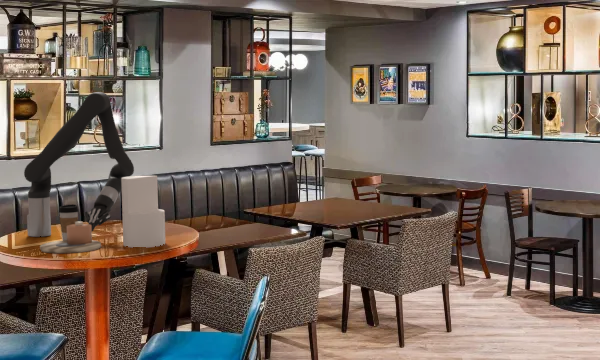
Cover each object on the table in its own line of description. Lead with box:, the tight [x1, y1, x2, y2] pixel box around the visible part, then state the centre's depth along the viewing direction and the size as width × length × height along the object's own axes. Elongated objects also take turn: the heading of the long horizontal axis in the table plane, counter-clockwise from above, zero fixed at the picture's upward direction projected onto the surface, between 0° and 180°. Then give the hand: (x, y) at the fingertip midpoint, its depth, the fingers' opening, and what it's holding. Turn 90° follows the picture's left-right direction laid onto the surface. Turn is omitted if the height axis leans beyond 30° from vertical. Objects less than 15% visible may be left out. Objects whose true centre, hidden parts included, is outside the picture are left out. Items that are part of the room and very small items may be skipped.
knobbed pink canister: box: [67, 220, 93, 244], centre depth 344 cm, size 10×10×9 cm
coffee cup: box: [58, 204, 79, 241], centre depth 360 cm, size 8×8×15 cm
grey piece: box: [121, 175, 166, 248], centre depth 347 cm, size 17×17×28 cm
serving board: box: [39, 239, 102, 254], centre depth 340 cm, size 24×24×2 cm
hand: (88, 231), depth 349 cm, fingers closed
